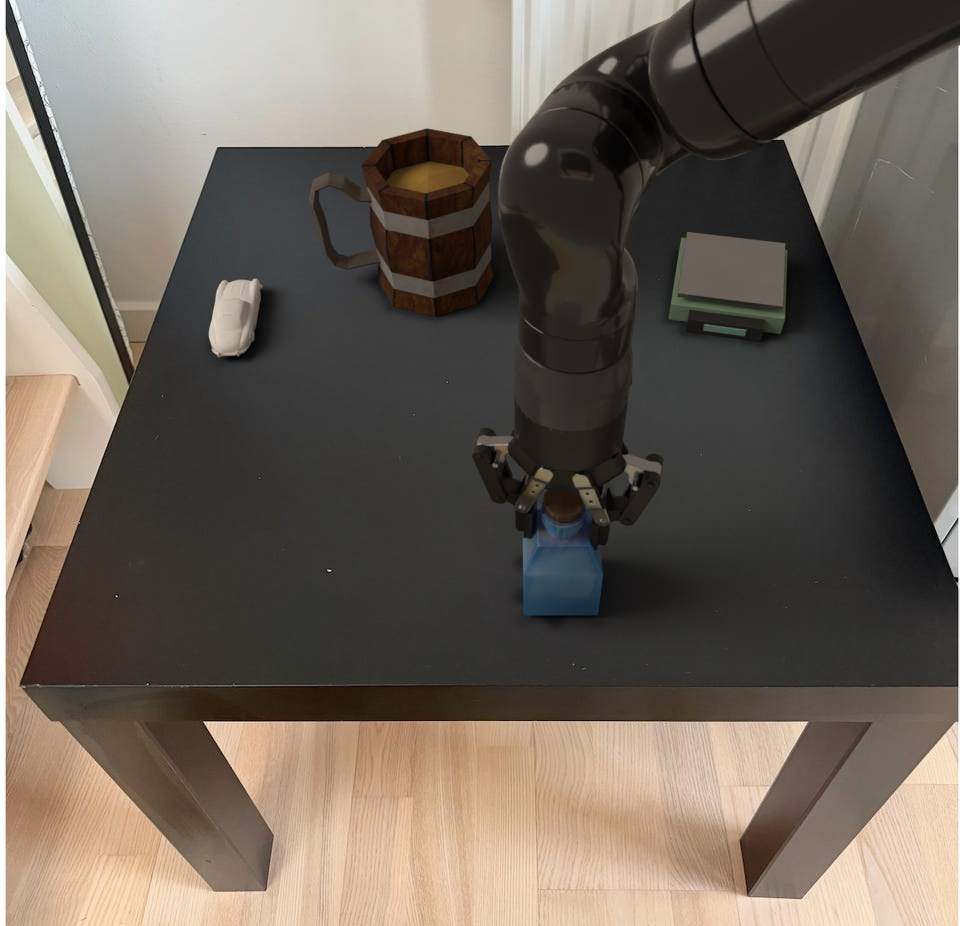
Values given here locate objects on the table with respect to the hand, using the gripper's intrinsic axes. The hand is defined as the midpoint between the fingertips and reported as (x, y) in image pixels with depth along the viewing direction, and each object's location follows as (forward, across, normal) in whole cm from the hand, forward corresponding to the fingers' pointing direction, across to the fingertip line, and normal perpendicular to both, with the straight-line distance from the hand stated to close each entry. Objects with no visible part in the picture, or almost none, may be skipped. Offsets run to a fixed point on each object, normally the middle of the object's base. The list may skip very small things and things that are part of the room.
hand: (562, 534), depth 72 cm
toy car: (+8, -41, +26) cm, 49 cm away
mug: (+8, -24, +37) cm, 45 cm away
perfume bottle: (+8, 0, 0) cm, 8 cm away
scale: (+8, +12, +42) cm, 45 cm away
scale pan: (+6, +12, +42) cm, 44 cm away
